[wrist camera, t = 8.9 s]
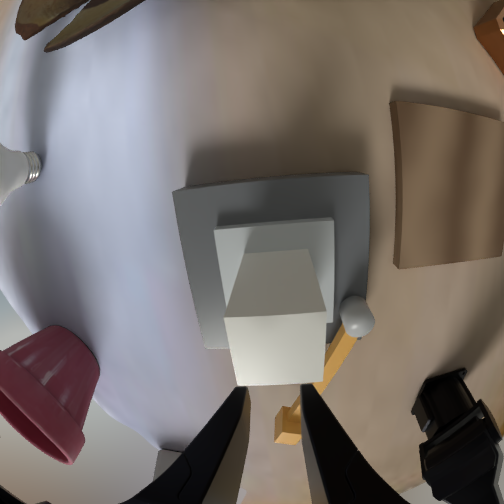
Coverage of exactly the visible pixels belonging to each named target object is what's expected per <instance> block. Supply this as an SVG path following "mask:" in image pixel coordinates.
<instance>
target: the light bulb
mask: <svg viewBox="0 0 504 504" xmlns="http://www.w3.org/2000/svg"><path fill="white" fill-rule="evenodd" d="M41 165H42V164H41V159H40V156H39V155H38V154H37V153H35V152H33V151H29V152H21V151H12V150H9V149H7V148H6V147H4V146H3V145H2V144H1V143H0V206H1V205H2V204H3V202H4V201H5V199H6V198H7V197H8V196H9V194H10V193H11V192H12V191H14V190H16V189H18V188H20V187H22V186H23V184H27V183H31V182H34V181H36V179H37V178H38V177H39V175H40V172H41Z"/></svg>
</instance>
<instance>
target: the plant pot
mask: <svg viewBox="0 0 504 504" xmlns="http://www.w3.org/2000/svg"><path fill="white" fill-rule="evenodd" d="M99 376H100V371H99V366H98V364H97V361H96V359H95V358H94V356H93V354H92V353H91V351H90V350H89V349H88V348H87V346H86V345H85V344H84V343H83V342H82V341H81V340H80V339H79V338H78V337H77V336H76V335H74V334H73V333H72V332H70V331H69V330H67V329H65V328H63V327H61V326H57V325H52V326H49V327H47V328H45V329H43V330H41V331H39V332H37V333H35V334H33V335H31V336H29V337H27V338H25V339H24V340H22V341H20V342H18V343H16V344H14V345H12V346H11V347H9V348H7V349H5V350H3V351H1V350H0V414H1V415H2V416H3V417H4V418H5V419H6V421H7V422H8V423H10V425H11V426H12V427H13V428H14V429H15V430H16V431H17V432H18V433H20V434H21V435H22V436H23V437H24V438H25V439H26V440H28V441H29V442H30V443H31V444H33V445H34V446H35V447H37V448H38V449H40V450H41V451H42V452H44V453H45V454H47V455H49V456H50V457H52V458H54V459H55V460H58V461H59V462H62V463H64V464H67V465H72V464H73V463H74V461H75V460H76V458H77V456H78V455H79V453H80V451H81V449H82V447H83V446H84V443H85V437H84V434H83V432H82V429H83V425H84V422H85V419H86V415H87V412H88V409H89V405H90V402H91V399H92V396H93V393H94V390H95V387H96V384H97V382H98V379H99Z"/></svg>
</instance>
